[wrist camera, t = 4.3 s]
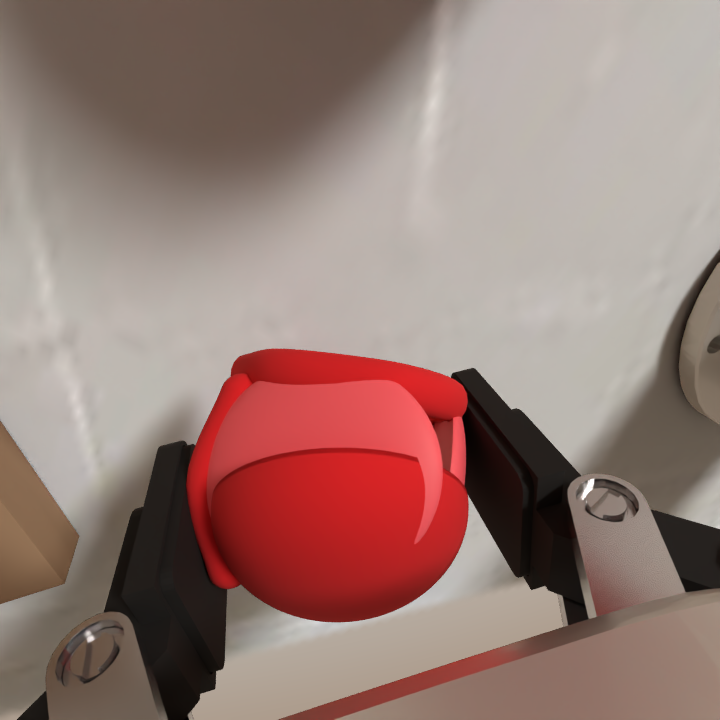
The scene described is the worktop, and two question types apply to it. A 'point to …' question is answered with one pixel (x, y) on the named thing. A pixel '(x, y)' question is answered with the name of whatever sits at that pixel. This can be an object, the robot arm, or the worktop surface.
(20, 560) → the walnut board
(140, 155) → the worktop surface
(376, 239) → the worktop surface
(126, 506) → the worktop surface
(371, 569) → the red rounded piece
